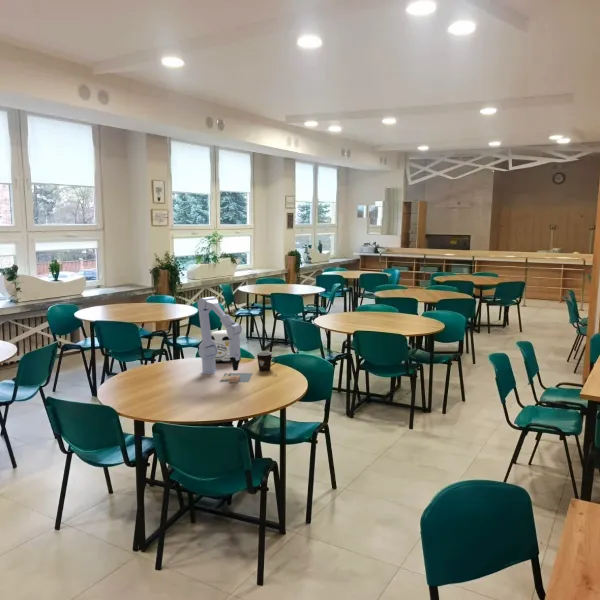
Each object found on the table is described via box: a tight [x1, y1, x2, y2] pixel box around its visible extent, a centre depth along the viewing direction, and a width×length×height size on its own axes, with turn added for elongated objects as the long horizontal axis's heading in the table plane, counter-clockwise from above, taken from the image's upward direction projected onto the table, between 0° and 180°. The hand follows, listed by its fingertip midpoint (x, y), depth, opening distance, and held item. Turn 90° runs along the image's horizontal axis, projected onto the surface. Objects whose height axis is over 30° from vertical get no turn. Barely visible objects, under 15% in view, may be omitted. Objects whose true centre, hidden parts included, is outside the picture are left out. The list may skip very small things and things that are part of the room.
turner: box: [220, 371, 231, 381], centre depth 305 cm, size 14×4×1 cm, turn 177°
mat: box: [219, 372, 253, 383], centre depth 303 cm, size 18×16×1 cm
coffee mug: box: [256, 351, 278, 372], centre depth 317 cm, size 12×9×10 cm
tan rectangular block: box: [228, 375, 240, 384], centre depth 297 cm, size 2×5×7 cm
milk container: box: [211, 329, 231, 363], centre depth 342 cm, size 17×17×18 cm
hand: (235, 370), depth 300 cm, fingers closed
